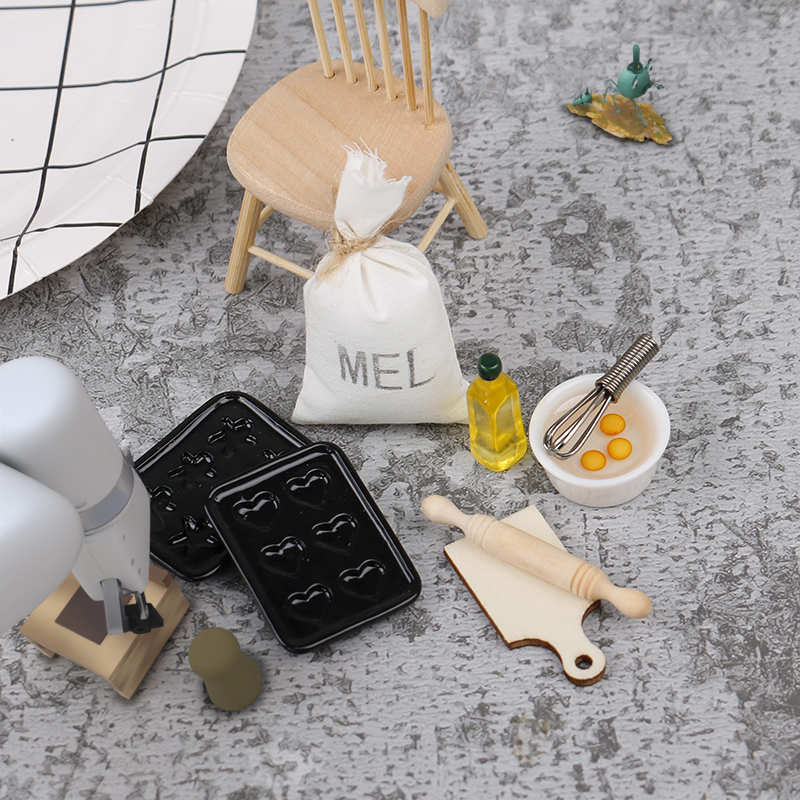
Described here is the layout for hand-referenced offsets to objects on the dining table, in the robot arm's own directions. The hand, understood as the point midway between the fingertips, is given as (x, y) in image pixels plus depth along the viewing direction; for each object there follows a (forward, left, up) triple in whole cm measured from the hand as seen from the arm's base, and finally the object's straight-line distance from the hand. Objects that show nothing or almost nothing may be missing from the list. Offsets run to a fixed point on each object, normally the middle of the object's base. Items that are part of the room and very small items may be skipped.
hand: (147, 576), depth 86 cm
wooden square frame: (-1, +11, -22) cm, 24 cm away
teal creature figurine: (+102, -13, -22) cm, 105 cm away
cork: (-1, -5, -22) cm, 22 cm away
